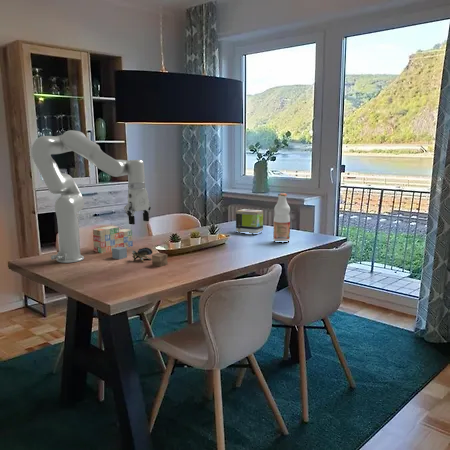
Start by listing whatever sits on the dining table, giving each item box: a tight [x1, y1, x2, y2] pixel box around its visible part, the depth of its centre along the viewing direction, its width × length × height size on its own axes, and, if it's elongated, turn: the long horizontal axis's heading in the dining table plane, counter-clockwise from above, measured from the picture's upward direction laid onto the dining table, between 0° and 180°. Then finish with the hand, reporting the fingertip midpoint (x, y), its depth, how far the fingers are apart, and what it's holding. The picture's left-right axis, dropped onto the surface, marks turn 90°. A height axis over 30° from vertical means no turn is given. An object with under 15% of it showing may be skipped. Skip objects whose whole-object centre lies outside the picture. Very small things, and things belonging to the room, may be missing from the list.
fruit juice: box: [272, 193, 291, 242], centre depth 254 cm, size 9×9×28 cm
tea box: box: [235, 208, 264, 233], centre depth 282 cm, size 15×10×15 cm
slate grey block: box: [111, 247, 128, 260], centre depth 219 cm, size 5×5×5 cm
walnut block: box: [151, 252, 169, 268], centre depth 206 cm, size 5×5×5 cm
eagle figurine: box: [131, 247, 153, 262], centre depth 214 cm, size 8×7×9 cm
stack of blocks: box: [92, 225, 134, 254], centre depth 238 cm, size 21×6×12 cm, turn 143°
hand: (139, 222), depth 210 cm, fingers open, 9 cm apart
